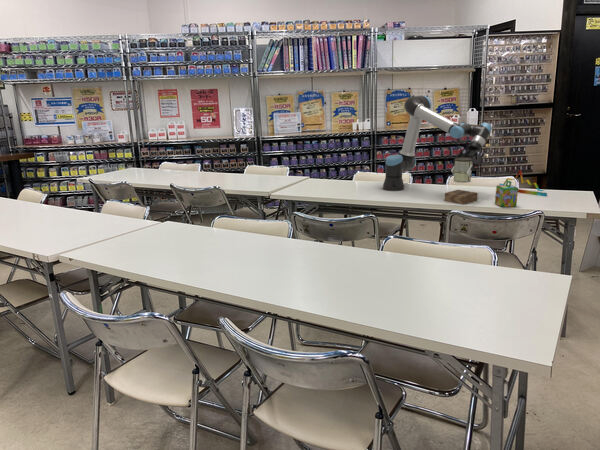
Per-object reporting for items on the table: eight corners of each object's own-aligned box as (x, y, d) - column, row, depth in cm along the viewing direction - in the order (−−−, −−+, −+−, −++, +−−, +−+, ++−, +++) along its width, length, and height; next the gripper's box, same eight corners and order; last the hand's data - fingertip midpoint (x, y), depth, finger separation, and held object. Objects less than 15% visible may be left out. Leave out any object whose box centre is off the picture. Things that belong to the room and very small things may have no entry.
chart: (546, 195, 299) (549, 172, 295) (544, 196, 297) (547, 173, 293) (500, 189, 321) (502, 167, 317) (498, 190, 319) (500, 168, 315)
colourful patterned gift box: (494, 204, 283) (496, 179, 279) (508, 203, 284) (511, 179, 279) (501, 207, 274) (504, 182, 270) (516, 206, 275) (519, 182, 271)
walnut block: (444, 200, 294) (445, 193, 293) (457, 197, 302) (458, 189, 301) (464, 204, 284) (464, 196, 282) (477, 200, 292) (477, 192, 290)
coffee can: (451, 179, 295) (452, 157, 291) (468, 179, 294) (470, 157, 290) (455, 183, 285) (456, 160, 281) (472, 182, 284) (474, 159, 280)
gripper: (495, 150, 285) (478, 179, 280) (462, 147, 302) (446, 174, 297) (491, 142, 280) (474, 171, 275) (458, 139, 297) (441, 167, 293)
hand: (460, 173), depth 286 cm, fingers closed on coffee can, 10 cm apart
